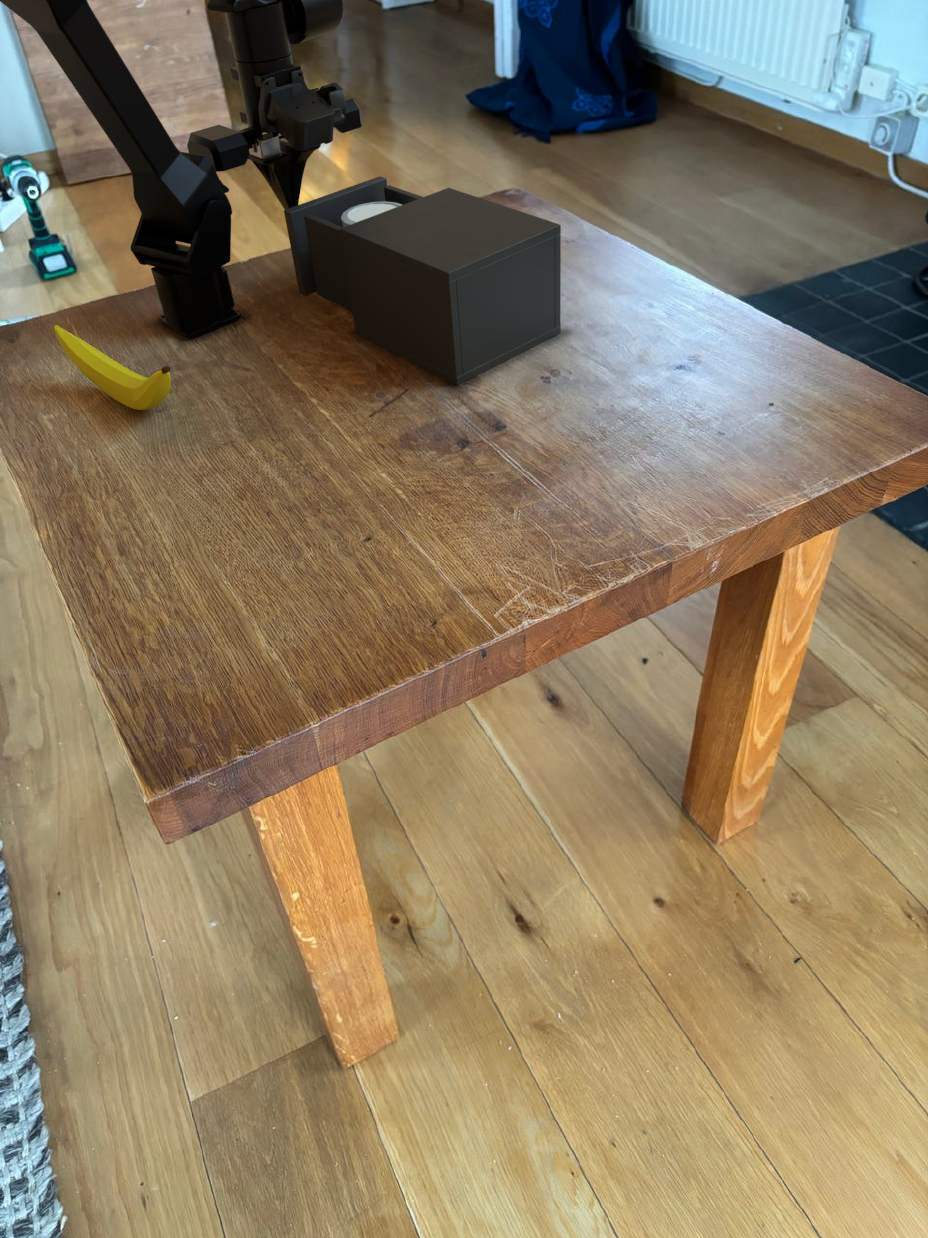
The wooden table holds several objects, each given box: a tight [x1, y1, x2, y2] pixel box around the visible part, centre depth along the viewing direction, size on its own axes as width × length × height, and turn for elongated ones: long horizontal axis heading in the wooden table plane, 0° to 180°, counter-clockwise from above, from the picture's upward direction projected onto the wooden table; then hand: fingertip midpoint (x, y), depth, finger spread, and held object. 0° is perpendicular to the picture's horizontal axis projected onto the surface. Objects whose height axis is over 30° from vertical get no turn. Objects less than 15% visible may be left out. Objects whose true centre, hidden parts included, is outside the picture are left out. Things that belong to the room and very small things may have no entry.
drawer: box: [283, 175, 424, 313], centre depth 100 cm, size 19×12×9 cm, turn 42°
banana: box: [53, 324, 172, 411], centre depth 89 cm, size 3×19×6 cm, turn 49°
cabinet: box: [340, 187, 562, 386], centre depth 93 cm, size 16×14×11 cm
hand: (291, 212), depth 108 cm, fingers closed
